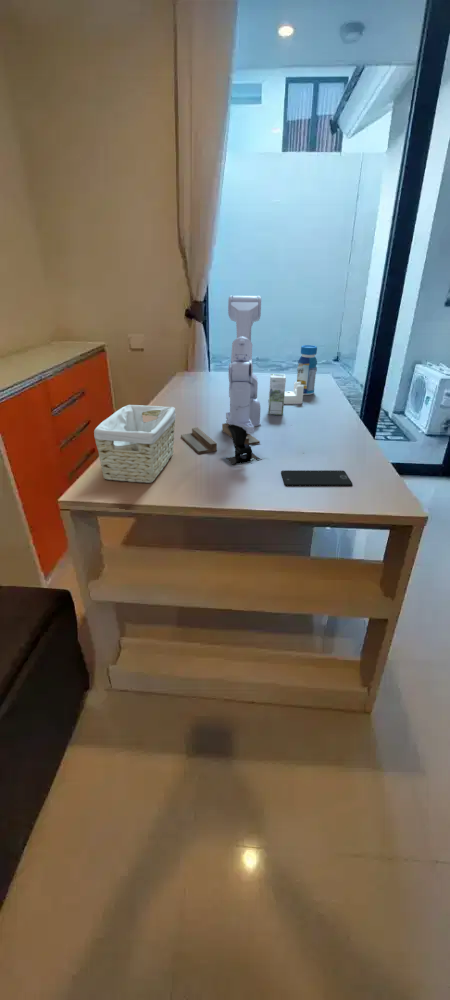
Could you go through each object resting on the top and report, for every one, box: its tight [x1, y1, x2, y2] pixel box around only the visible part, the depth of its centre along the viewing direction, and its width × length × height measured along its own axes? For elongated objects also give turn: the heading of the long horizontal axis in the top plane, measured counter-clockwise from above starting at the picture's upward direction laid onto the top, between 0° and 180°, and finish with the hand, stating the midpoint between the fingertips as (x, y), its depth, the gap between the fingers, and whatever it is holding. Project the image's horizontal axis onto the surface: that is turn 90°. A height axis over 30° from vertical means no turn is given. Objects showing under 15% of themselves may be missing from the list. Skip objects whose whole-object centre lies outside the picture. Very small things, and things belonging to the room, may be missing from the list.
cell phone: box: [280, 469, 353, 487], centre depth 119 cm, size 9×18×1 cm, turn 91°
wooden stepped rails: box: [180, 422, 261, 455], centre depth 143 cm, size 21×16×2 cm
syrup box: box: [267, 373, 287, 416], centre depth 167 cm, size 6×6×14 cm
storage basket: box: [93, 404, 177, 484], centre depth 122 cm, size 24×16×15 cm
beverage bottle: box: [296, 344, 318, 396], centre depth 191 cm, size 8×8×20 cm
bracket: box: [284, 381, 304, 405], centre depth 183 cm, size 13×7×8 cm, turn 93°
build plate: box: [225, 444, 262, 466], centre depth 130 cm, size 12×7×5 cm, turn 116°
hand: (238, 448), depth 132 cm, fingers closed
